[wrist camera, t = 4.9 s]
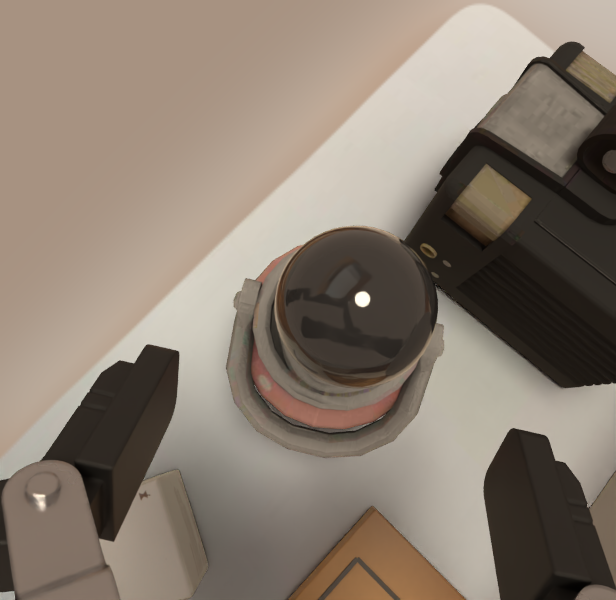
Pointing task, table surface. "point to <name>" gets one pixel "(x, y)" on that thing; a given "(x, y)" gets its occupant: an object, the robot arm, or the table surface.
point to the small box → (157, 544)
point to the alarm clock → (607, 522)
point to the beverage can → (303, 400)
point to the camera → (536, 219)
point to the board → (375, 568)
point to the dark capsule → (354, 310)
